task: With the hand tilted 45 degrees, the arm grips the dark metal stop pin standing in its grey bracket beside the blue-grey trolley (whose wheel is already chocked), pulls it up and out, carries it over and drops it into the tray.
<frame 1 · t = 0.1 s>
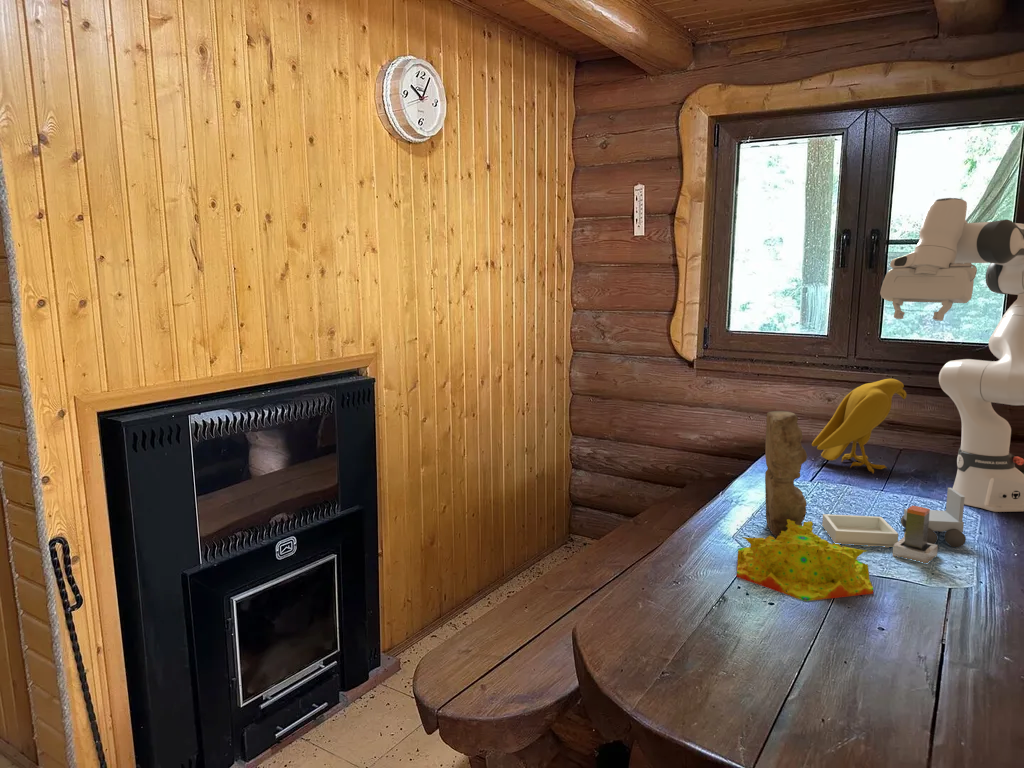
hand: (917, 319, 167), 52 cm above the table, tool tilted 20°, fingers open, 8 cm apart
trolley: (931, 537, 168), on the table
stop pin: (916, 532, 157), in the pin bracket
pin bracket: (914, 555, 158), on the table
chock: (910, 544, 164), on the table
tray: (858, 537, 169), on the table
sculpture 2: (856, 465, 231), on the table
decorative piece: (800, 573, 151), on the table
sculpture: (783, 532, 173), on the table
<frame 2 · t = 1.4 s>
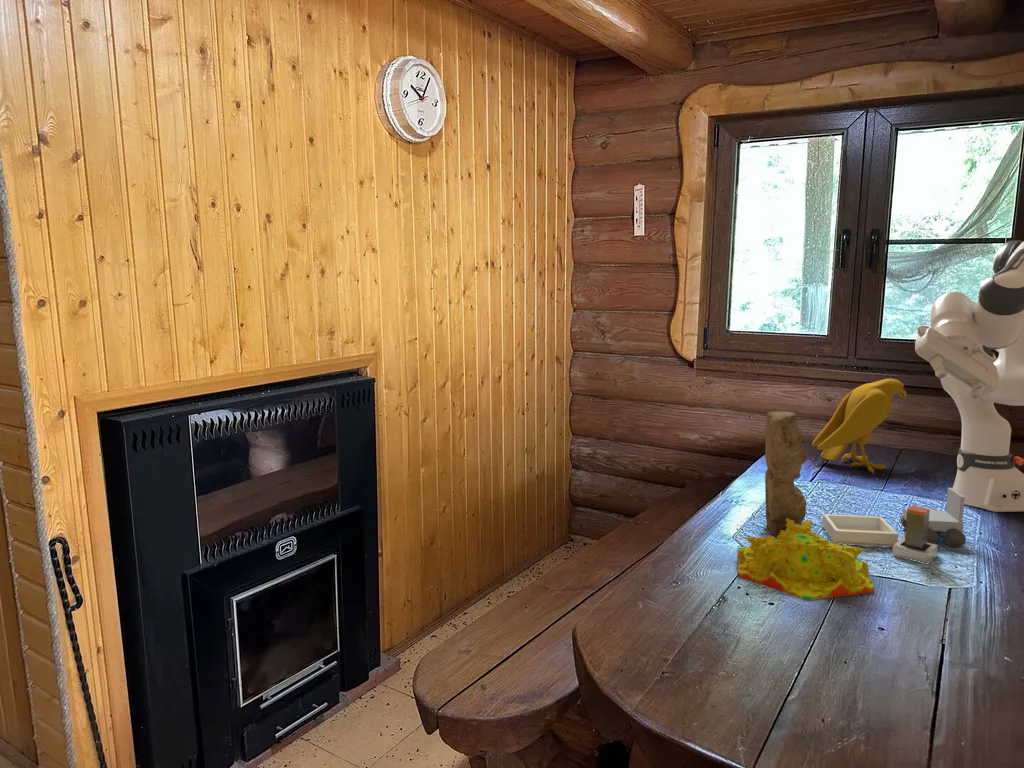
hand: (958, 386, 152), 38 cm above the table, tool tilted 55°, fingers open, 8 cm apart
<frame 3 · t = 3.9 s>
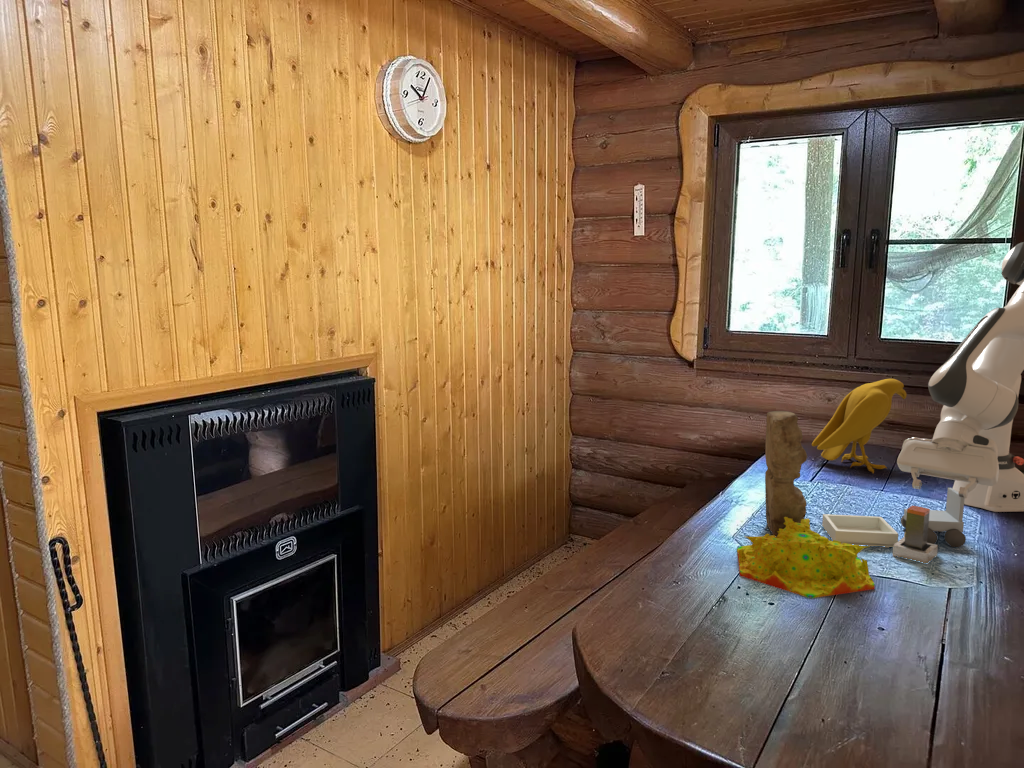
hand: (938, 491, 161), 13 cm above the table, tool tilted 45°, fingers open, 8 cm apart
decorative piece: (800, 570, 152), on the table
everything else where it was.
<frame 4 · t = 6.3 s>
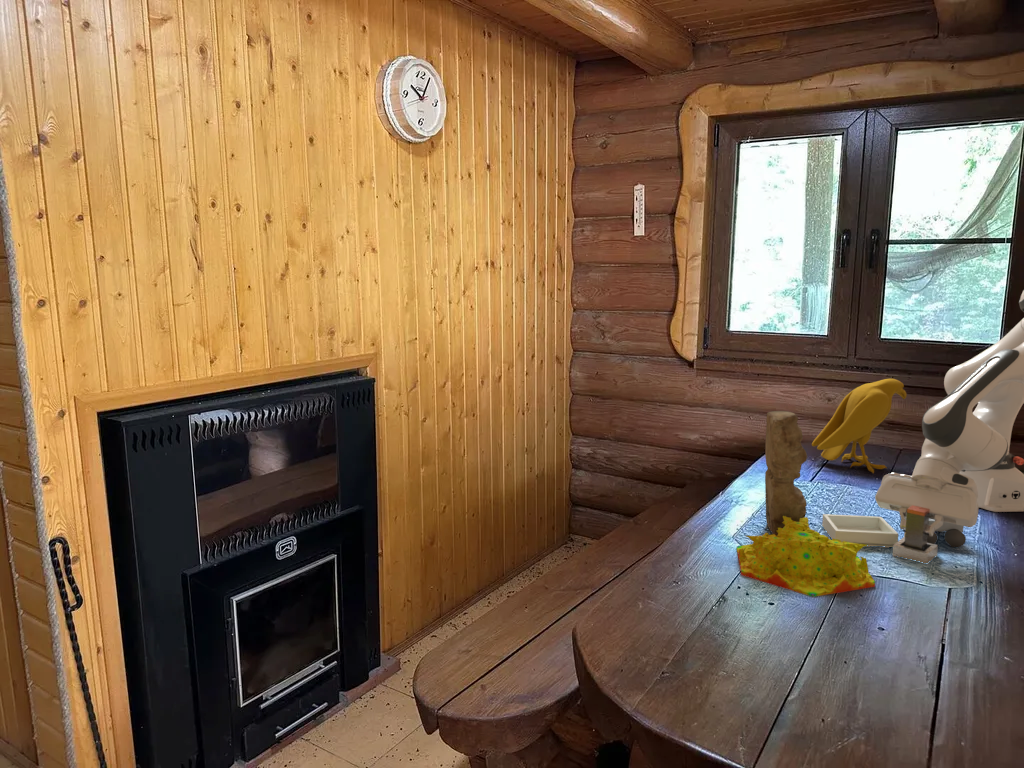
hand: (915, 531, 156), 6 cm above the table, tool tilted 45°, fingers closed on stop pin, 3 cm apart
stop pin: (916, 532, 157), in the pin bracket, touching gripper
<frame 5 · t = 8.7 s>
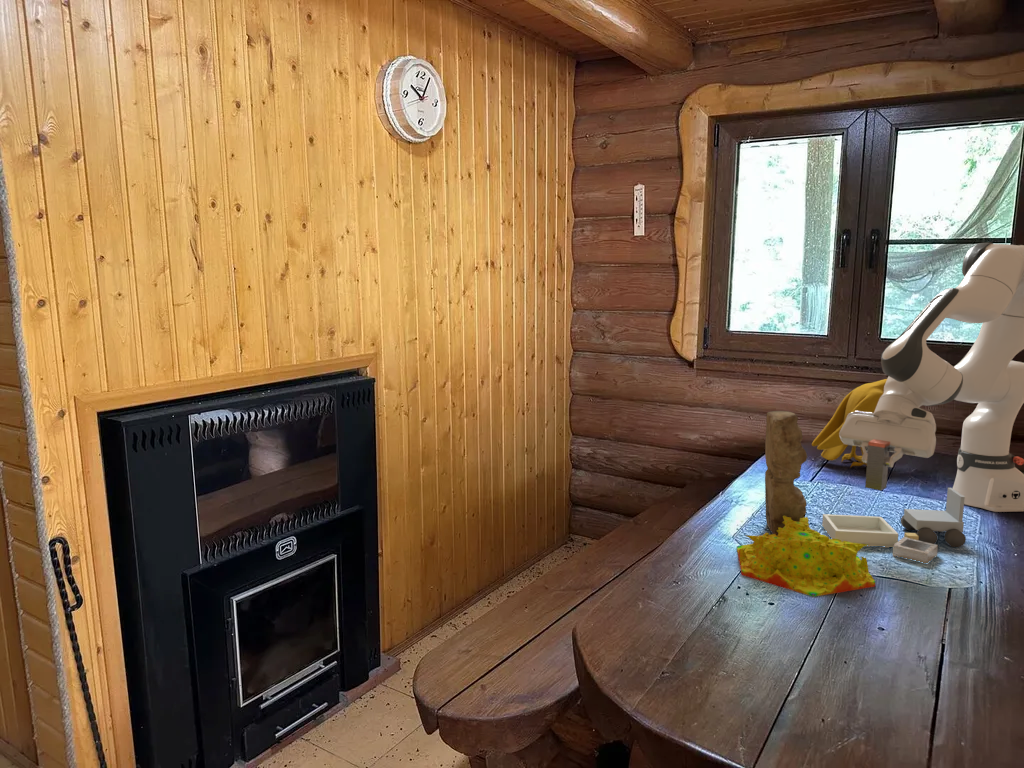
hand: (876, 463, 163), 19 cm above the table, tool tilted 45°, fingers closed on stop pin, 3 cm apart
stop pin: (877, 464, 163), point 19 cm above the table, touching gripper
everything else where it was.
when the fingers open (8 cm above the table, at t = 11.4 s): stop pin drops 1 cm, resting on tray.
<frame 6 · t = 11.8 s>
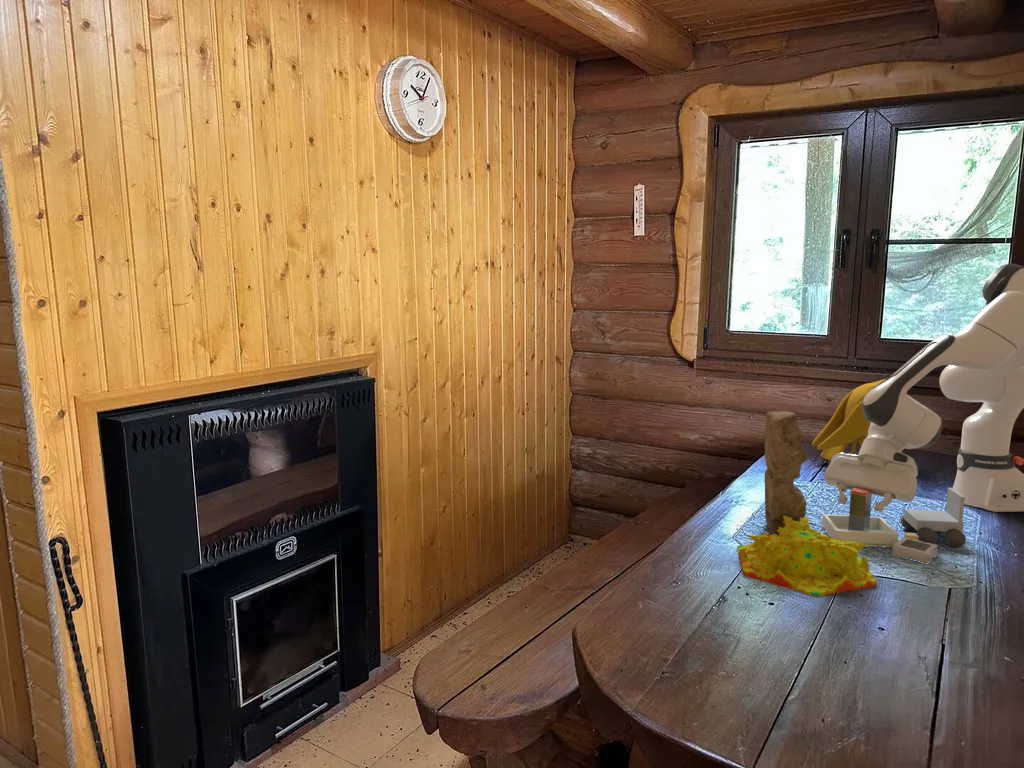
hand: (859, 506, 167), 8 cm above the table, tool tilted 45°, fingers open, 7 cm apart
stop pin: (859, 512, 168), in the tray, point 6 cm above the table
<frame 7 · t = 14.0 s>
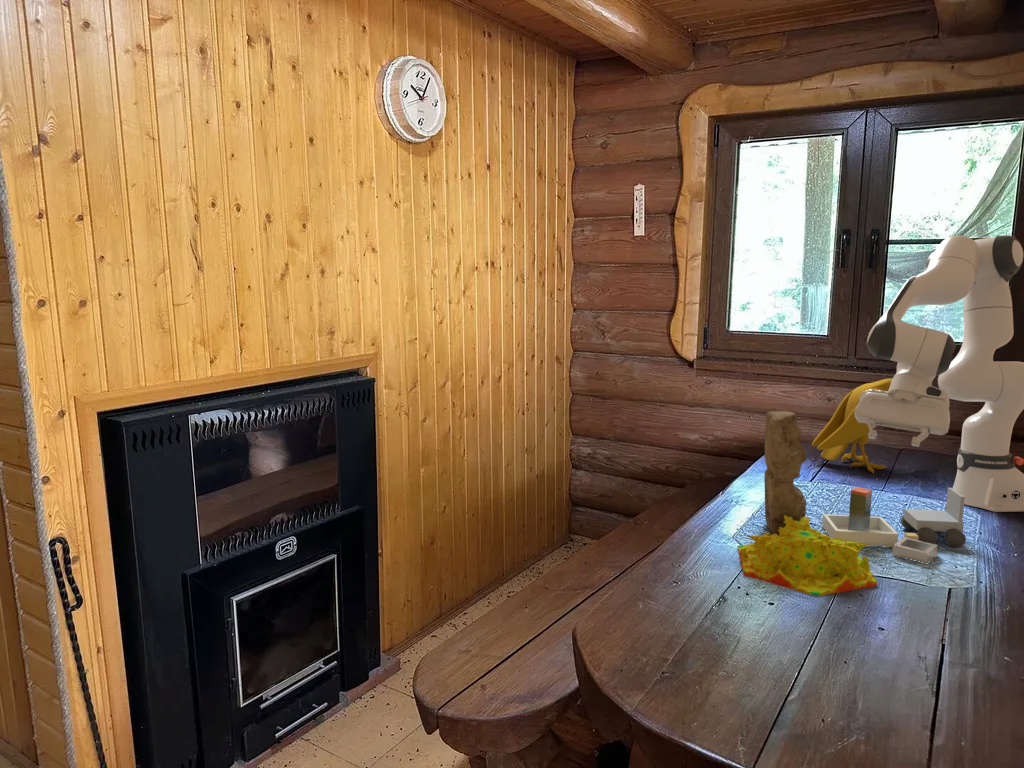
hand: (892, 441, 167), 23 cm above the table, tool tilted 45°, fingers open, 8 cm apart
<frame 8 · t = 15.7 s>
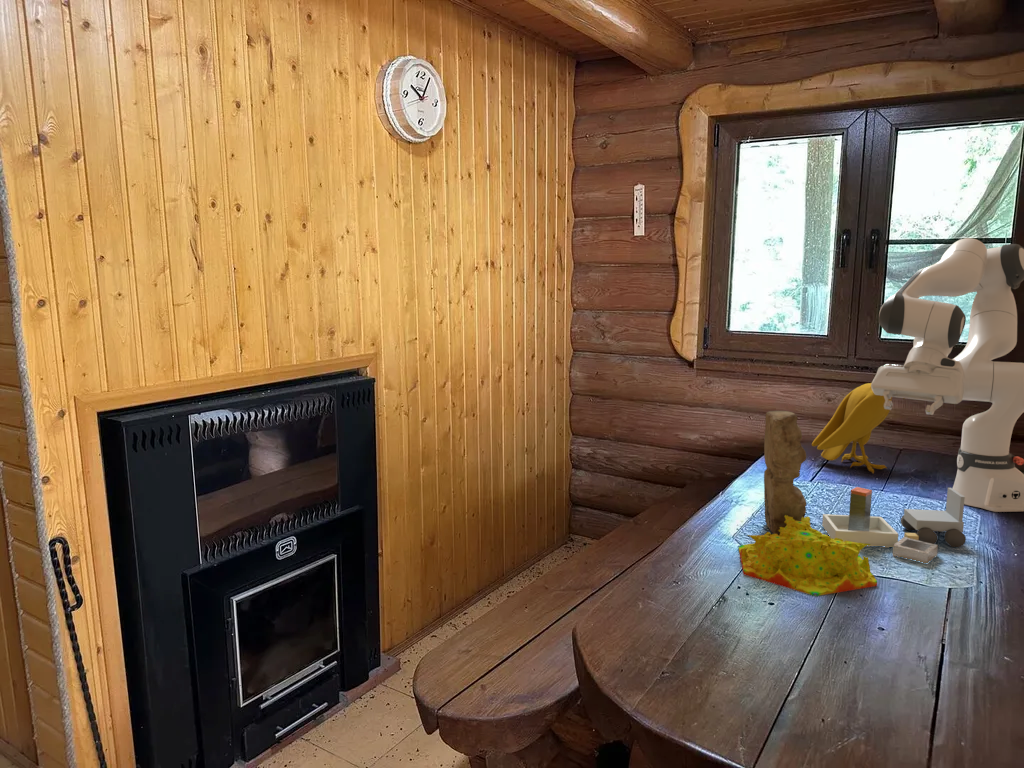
hand: (907, 410, 172), 29 cm above the table, tool tilted 45°, fingers open, 8 cm apart
at the end: stop pin inside the target area on the tray (0.0 cm from its centre), point 6.3 cm above the tray's base; the gripper is holding nothing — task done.
